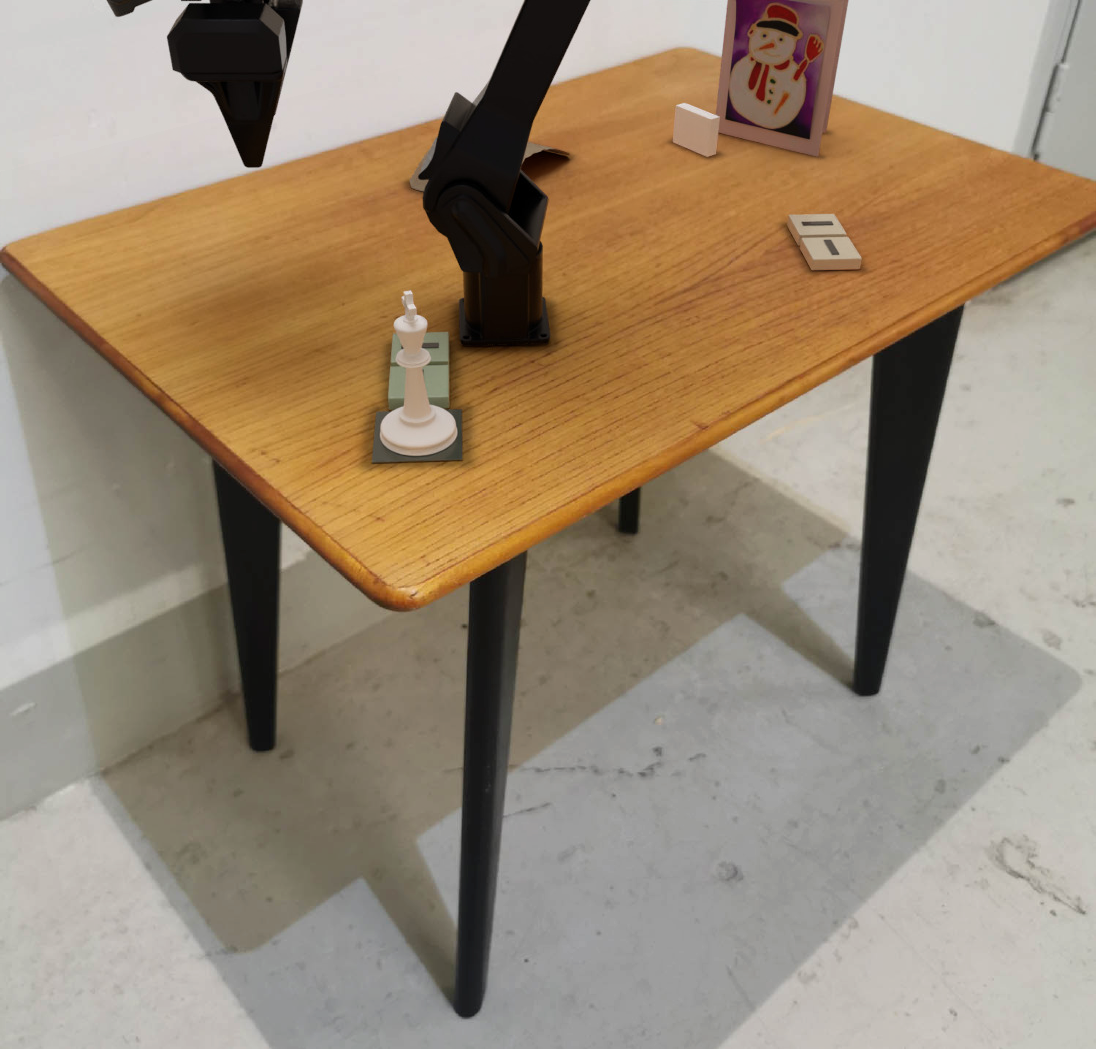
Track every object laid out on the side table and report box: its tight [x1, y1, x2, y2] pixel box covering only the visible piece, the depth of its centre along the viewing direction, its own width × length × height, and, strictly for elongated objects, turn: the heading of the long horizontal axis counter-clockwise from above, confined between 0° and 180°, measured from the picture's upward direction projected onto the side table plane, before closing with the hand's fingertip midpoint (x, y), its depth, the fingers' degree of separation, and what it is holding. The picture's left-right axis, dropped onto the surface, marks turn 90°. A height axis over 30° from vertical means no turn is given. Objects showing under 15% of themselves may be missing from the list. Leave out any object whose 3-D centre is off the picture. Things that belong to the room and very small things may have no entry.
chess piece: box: [380, 289, 457, 456], centre depth 69 cm, size 5×5×10 cm
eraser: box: [672, 102, 720, 158], centre depth 109 cm, size 1×5×4 cm, turn 39°
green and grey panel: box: [371, 331, 464, 464], centre depth 75 cm, size 14×6×1 cm, turn 4°
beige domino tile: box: [786, 213, 863, 271], centre depth 93 cm, size 8×4×1 cm, turn 4°
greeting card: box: [715, 0, 849, 158], centre depth 108 cm, size 11×7×15 cm, turn 55°
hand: (260, 140), depth 76 cm, fingers open, 9 cm apart
